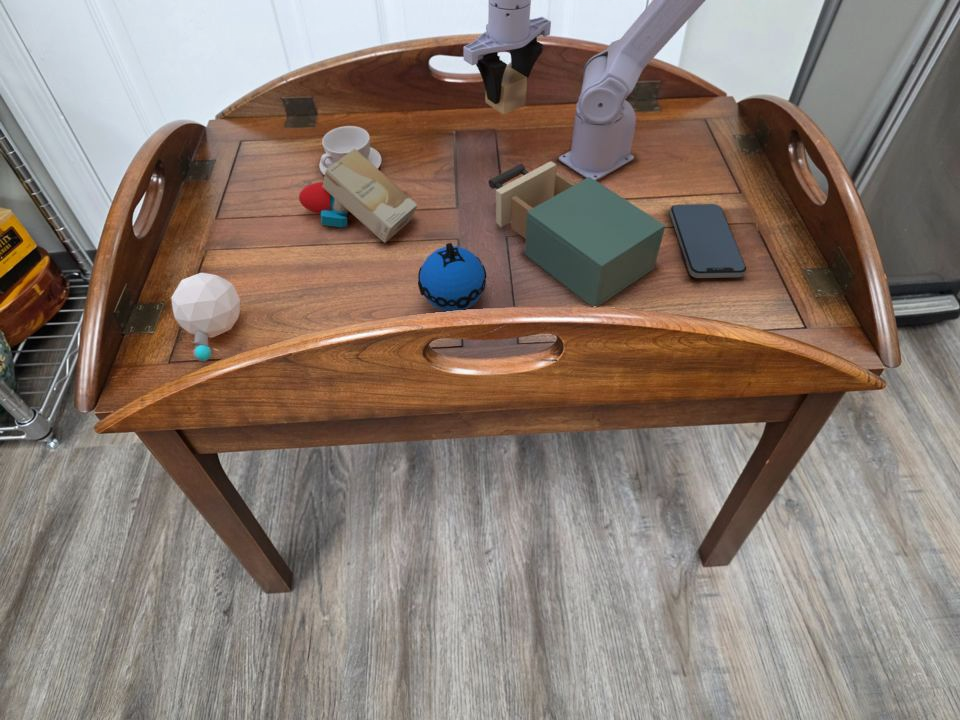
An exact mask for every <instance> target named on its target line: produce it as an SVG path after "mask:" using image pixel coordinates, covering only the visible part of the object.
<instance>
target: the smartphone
mask: <svg viewBox="0 0 960 720" xmlns="http://www.w3.org/2000/svg"><path fill="white" fill-rule="evenodd" d="M669 216H670V218H671V221H672V225H673V228H674V231H675V234H676V236H677V240H678V243H679V246H680V249H681V252H682V255H683V259H684V261H685V264H686V267H687V270H688V273H689V275H690V276H691V277H693V278H695V279H716V278H719V279H721V278H722V279H723V278H725V279H726V278H741V277H744V276H745V274H746V271H747V266H746V264H745V261H744V259H743V256H742V254H741V252H740V249H739V246H738V245H737V242H736V240H735V237H734V235H733V233H732V229H731V228H730V225H729V222H728V220H727V217H726V216H725V213H724V210H723V209H722V207H721V206H720V205H719V204H716V203H695V204H693V203H692V204H689V203H688V204H674V205H671V207H670V210H669Z"/></svg>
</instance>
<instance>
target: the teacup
mask: <svg viewBox="0 0 960 720" xmlns="http://www.w3.org/2000/svg"><path fill="white" fill-rule="evenodd" d="M321 144H322V147H323V149H324V152H325V153H323V154H322V155H321V156H320V161H319V164H318V165H319V170H320V173H322V175H324V176H325V172H326V169H328V168H329V167H330V166H332V165H333V164H334V163H335V162H337V161H338V160H340V159H341V158H342V157H344V156H345V155H346V154H348V153H349V152H350V151H352V150H353V149H356V150H357V151H358V152H359V153H360V154H362V155H363V156H364V157H365V158H366V159H367V160H368V161H369V162H370V163H372V164H373V165H374V166H375V167H376V168H377V169H378V170H379V168H380V166H381V164H382V155H381V154H380V152H379V151H378V150H377V149H375V148H374V147H372V146H371V137H370V134H369V132H368V130H366V129H364V128H362V127H360V126H355V125H344V126H339V127H338V126H337V127H336V128H333V129H331V130H329V131H328V132H327V133H325V134H324V135H323V137H322V139H321Z"/></svg>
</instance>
